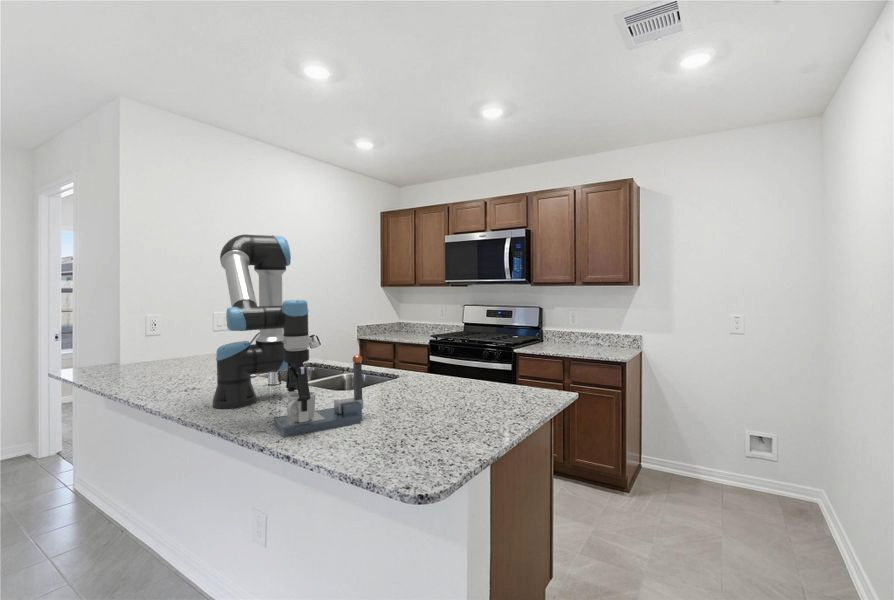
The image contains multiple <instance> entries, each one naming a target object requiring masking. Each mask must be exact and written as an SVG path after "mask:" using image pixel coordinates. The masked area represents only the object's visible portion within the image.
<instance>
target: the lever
mask: <svg viewBox="0 0 894 600" xmlns="http://www.w3.org/2000/svg"><path fill="white" fill-rule="evenodd" d="M362 361H363V357H362V356H361V355H360V354H355V355H353V356H352V362H353V364H352V365H353V397H350V398H349V397H348V398H345V399H344V398H343V399H334V400H333V408H334V411H336V412H337V413H338V414H341V413H342V405H347V404H353V403H359V402H360V403H361V404H362V410H364V398H363V376H362V375H363V373H362V372H363V370H362V365H363V364H362Z"/></svg>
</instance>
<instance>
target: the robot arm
mask: <svg viewBox="0 0 894 600" xmlns="http://www.w3.org/2000/svg"><path fill="white" fill-rule="evenodd" d="M219 255H220V256H219V259H220V265H221V267H222V268H223V269H224V270H225V271H224V272H225V277H226V281H227V290H228V294H229V300H230V304H231V306H230V307H228V308H227V309H226V312H225V313H226V314H225V315H226V317H225V318H226V328H227V330H229V331H230V332H246V331H247V332H248V331H258V330H259V335H258V336H257V337H256V338H255V343H253V344H251V341H248V340H242V341H236V342H234V341H233V342H230V343H227V344H223V345H221V346H219V347H218V348H216V349H217V350H216V356H215V357H216V358H215V360H216V382H217V386H216V389H215V392H214V395H213V398H212V407H213V408H215V409H236V408H242V407H247V406H250V405H253V404H255V403H256V402H257V394H256V391H255V389H254V387H253V383H252V378H251V377H252V376H251V375H257V374H258V375H259V374H267V373H277V372H281V371H282V372H285V371H286V370H287V371H286V372H287V373H286V374H287V375H286V385H285V388H286V390H287V400H288V401H287V405H288V404H289V395H291V394H294V393H298V395H299V399H297V402H298V406H299V423H300V422H306V421H309V416H308V400H309V399H310V392H311V391H310V386H309V379H308V369H307V368H308V367H307V366H304V363H307V362H308V361H309V360H310V349H309V347H310V335H309V307H308V301H307V300H305V299H286V300H284V301H283V275H284V273H285V272H286V271H287V267H289V266H290V265H291V260H292V257H291V256H292V255H291V250H290V245H289V243H288V240H287V239H286V238H285V237H284V236H279V235H268V234H267V235H264V234H263V235H262V234H260V235H259V234H240V235H235V236H234V237H232V238H231V239H229V240H228V241H227V242H226V243H225V244H224V245H223V247H222V249H221V251H220V254H219ZM249 266H253V269H254V271H255V273H257V274H258V305H257V299H256V295H255V291H254V290H255V289H254V286H253V283H252V277H251V273H250V269H249Z"/></svg>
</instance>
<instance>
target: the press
mask: <svg viewBox="0 0 894 600" xmlns="http://www.w3.org/2000/svg"><path fill="white" fill-rule="evenodd" d="M362 421H363V409H362V404H361V403H360V402H359V403H353V404H347V405H342V413H341V414H338V413H337V412H336V411H334V407H329V408H324V409H316V410H315V412H314V417H313V418H312V419H311V420H309V421H306V422H300V423H299V422H296V421H294V420H293V419H292V417H289V416H288V414H287V415H283V416H276V417H273V426H274V427H275V429H276V430H277V431H278V432H279V434H280V435H281V436H282V438H285V439H286V438H289V437H294V436H299V435H305V434H311V433H316V432H321V431H326V430H332V429H337V428H342V427H347V426H352V425H356V424H361V422H362Z"/></svg>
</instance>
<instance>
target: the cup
mask: <svg viewBox="0 0 894 600" xmlns="http://www.w3.org/2000/svg"><path fill="white" fill-rule="evenodd" d="M309 392H310V399H309V400H308V416H309V420H311V419H312V418H313V417H314V412H315V411H316V410H315V409H316V407H315V405H316V392H314V391H309ZM297 399H299V395H298V392H297V393H294V394H291V395H289V404H288V403H287V406H286V413H287V415H288V416H289V417H292V419H293V420H294V421H296V422H299V406H298V402H297Z"/></svg>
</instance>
